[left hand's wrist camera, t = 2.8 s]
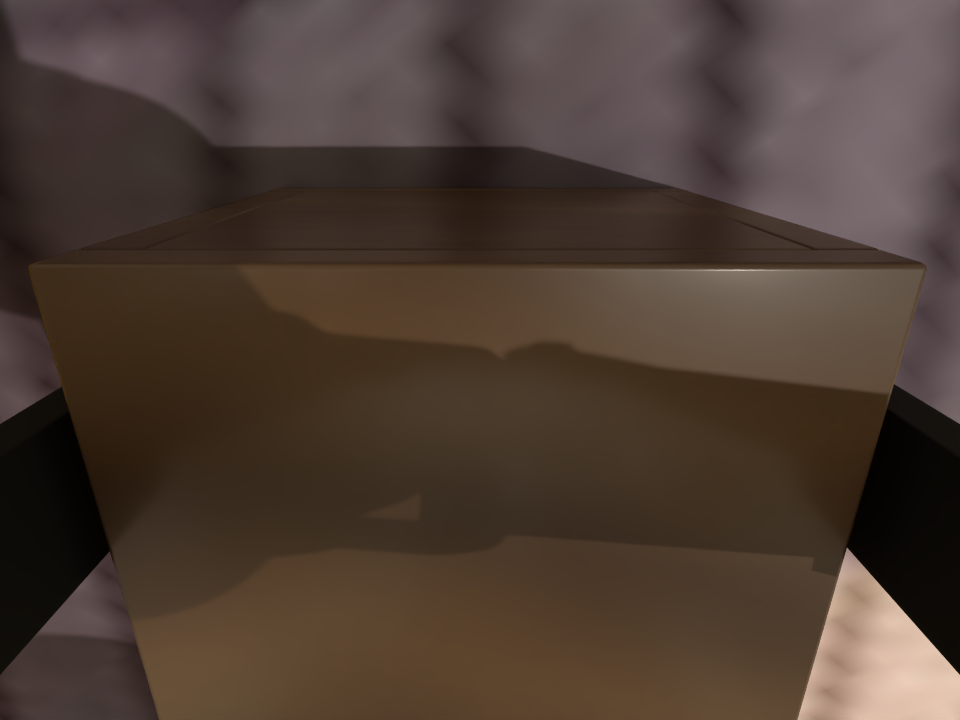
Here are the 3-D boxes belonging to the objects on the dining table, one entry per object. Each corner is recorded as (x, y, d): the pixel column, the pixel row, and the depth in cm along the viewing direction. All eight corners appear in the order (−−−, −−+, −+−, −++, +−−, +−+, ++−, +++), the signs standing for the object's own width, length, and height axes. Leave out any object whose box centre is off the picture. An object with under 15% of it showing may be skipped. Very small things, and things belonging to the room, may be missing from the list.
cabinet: (616, 701, 24) (701, 1060, 15) (342, 702, 24) (256, 1059, 15) (678, 187, 17) (931, 263, 7) (279, 187, 17) (21, 263, 7)
